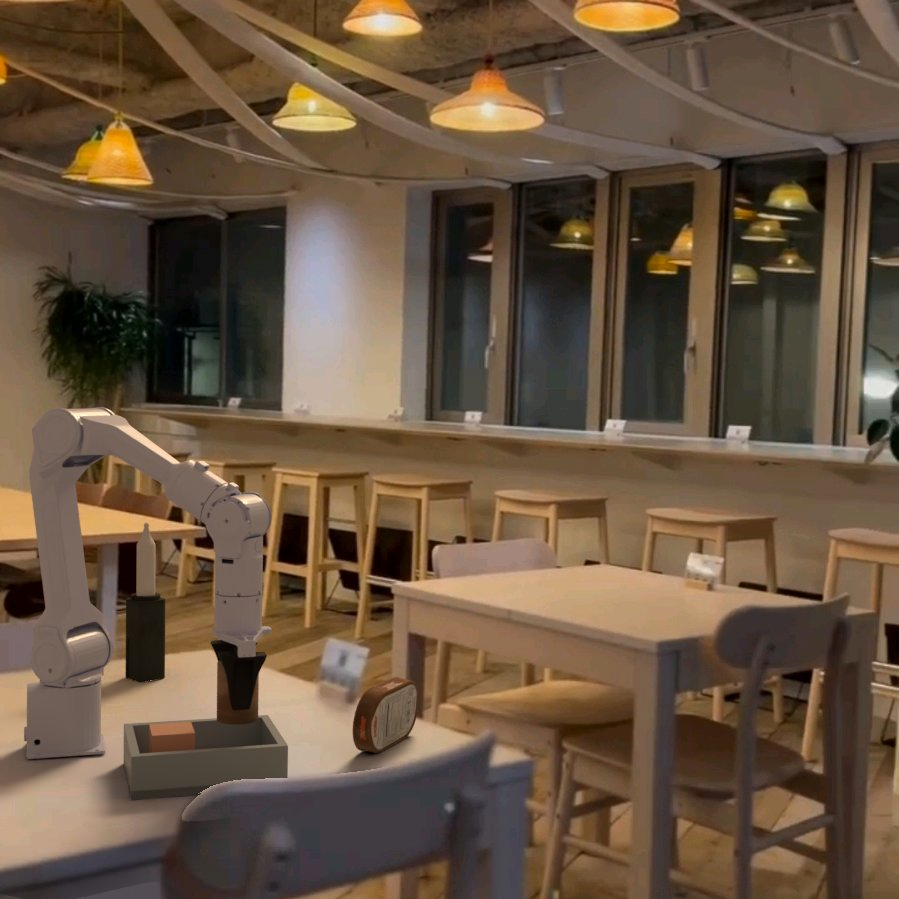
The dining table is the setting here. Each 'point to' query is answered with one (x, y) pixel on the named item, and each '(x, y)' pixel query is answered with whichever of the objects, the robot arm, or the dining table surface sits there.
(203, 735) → the tote
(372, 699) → the tin
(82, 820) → the dining table surface
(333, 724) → the dining table surface
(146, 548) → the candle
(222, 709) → the walnut cylinder
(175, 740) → the terracotta cube
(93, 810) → the dining table surface
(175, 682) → the dining table surface
